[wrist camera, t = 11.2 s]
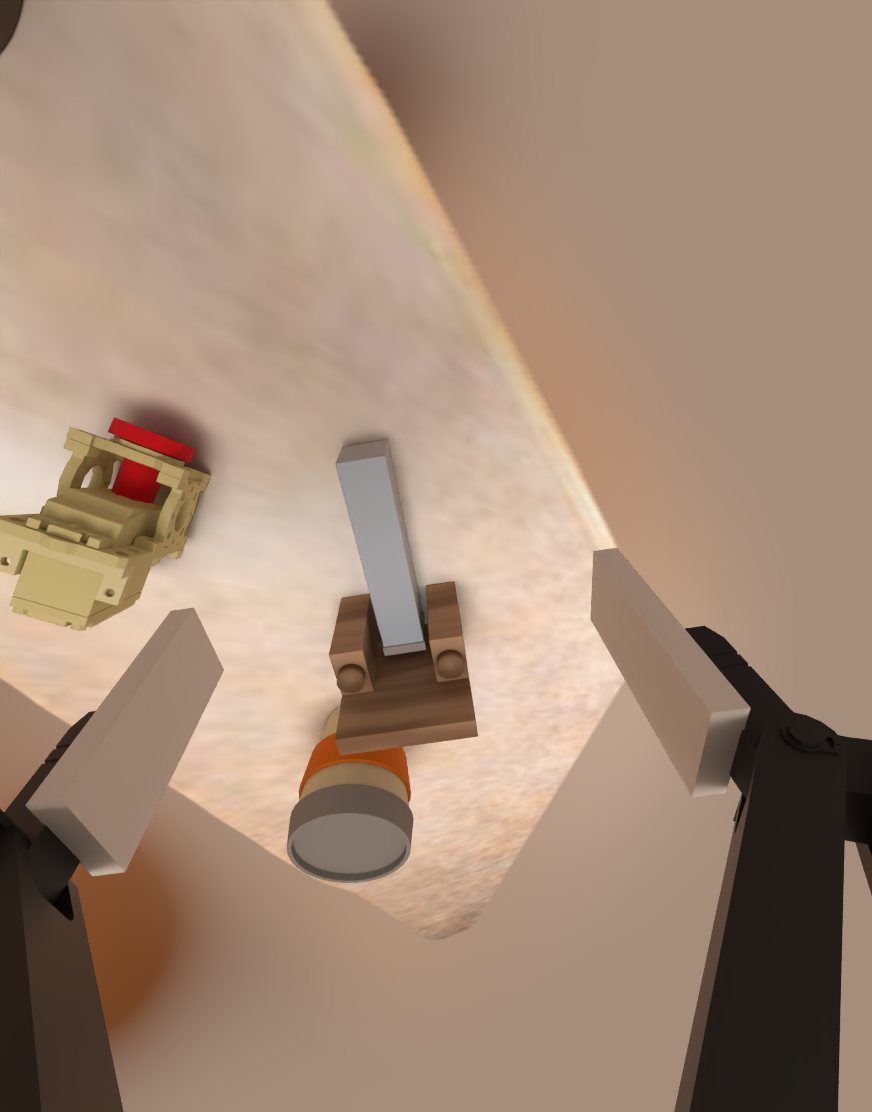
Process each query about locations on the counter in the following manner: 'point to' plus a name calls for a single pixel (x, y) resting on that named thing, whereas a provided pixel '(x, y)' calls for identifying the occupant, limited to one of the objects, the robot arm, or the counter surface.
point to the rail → (383, 544)
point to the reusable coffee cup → (351, 813)
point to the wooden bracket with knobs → (401, 679)
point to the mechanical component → (101, 527)
